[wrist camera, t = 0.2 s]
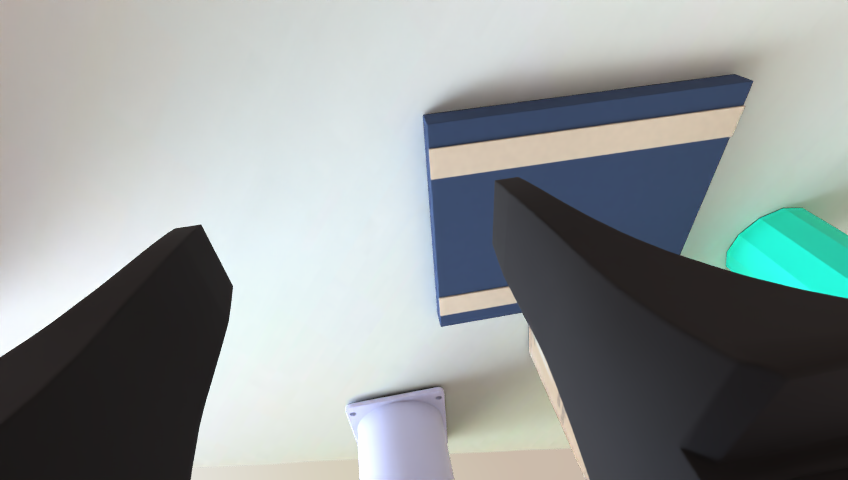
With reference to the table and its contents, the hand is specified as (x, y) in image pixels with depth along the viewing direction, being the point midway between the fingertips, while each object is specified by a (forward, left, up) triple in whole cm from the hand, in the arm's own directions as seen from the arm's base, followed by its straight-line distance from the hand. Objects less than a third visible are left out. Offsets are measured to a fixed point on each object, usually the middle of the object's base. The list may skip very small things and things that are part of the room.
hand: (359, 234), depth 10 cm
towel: (-8, -11, -10) cm, 17 cm away
